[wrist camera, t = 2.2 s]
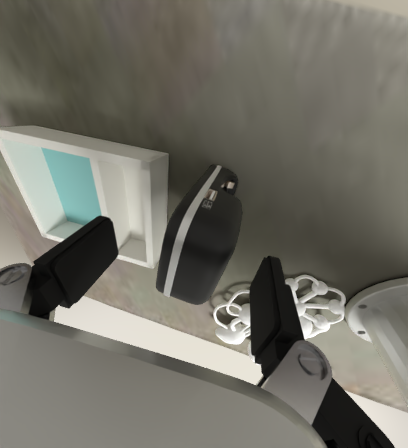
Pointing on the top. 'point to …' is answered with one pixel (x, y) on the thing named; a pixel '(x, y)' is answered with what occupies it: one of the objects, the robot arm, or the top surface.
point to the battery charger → (200, 238)
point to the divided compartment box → (91, 187)
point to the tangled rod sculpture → (237, 333)
